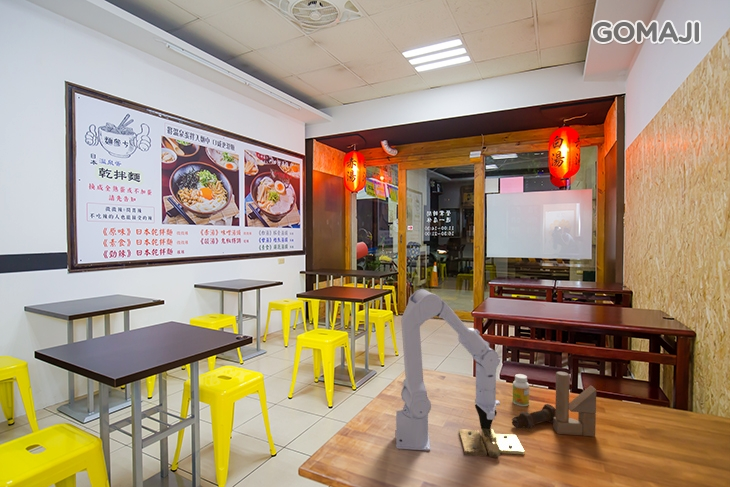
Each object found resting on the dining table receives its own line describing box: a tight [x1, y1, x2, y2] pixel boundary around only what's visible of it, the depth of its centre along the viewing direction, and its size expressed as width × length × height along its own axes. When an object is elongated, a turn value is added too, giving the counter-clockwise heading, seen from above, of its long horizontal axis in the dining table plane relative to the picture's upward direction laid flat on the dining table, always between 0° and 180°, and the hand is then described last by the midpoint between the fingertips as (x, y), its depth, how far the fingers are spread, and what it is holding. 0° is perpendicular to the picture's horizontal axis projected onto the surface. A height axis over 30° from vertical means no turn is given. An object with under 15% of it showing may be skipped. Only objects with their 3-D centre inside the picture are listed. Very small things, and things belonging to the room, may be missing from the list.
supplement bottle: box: [512, 373, 530, 407], centre depth 129 cm, size 5×5×10 cm
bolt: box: [511, 403, 556, 430], centre depth 115 cm, size 6×5×15 cm
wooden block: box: [552, 371, 597, 438], centre depth 110 cm, size 4×11×18 cm, turn 82°
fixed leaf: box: [458, 428, 502, 459], centre depth 104 cm, size 9×12×3 cm
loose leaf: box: [481, 428, 526, 455], centre depth 104 cm, size 10×8×3 cm
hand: (485, 431), depth 110 cm, fingers closed
